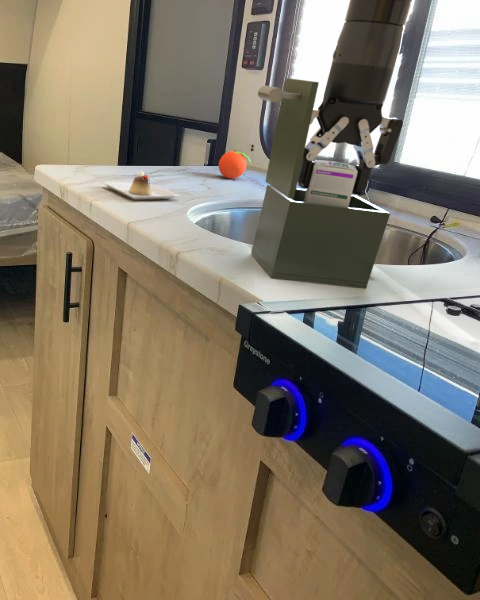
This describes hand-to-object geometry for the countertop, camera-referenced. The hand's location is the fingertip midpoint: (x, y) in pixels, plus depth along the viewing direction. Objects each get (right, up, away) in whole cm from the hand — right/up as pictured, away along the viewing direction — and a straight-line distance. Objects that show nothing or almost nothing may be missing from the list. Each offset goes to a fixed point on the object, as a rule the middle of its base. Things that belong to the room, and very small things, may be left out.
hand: (328, 189), depth 83 cm
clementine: (+5, +16, +71) cm, 73 cm away
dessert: (-22, +6, +41) cm, 47 cm away
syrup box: (-1, -10, +4) cm, 11 cm away
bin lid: (-6, +7, -3) cm, 9 cm away
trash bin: (-2, -11, +5) cm, 12 cm away
